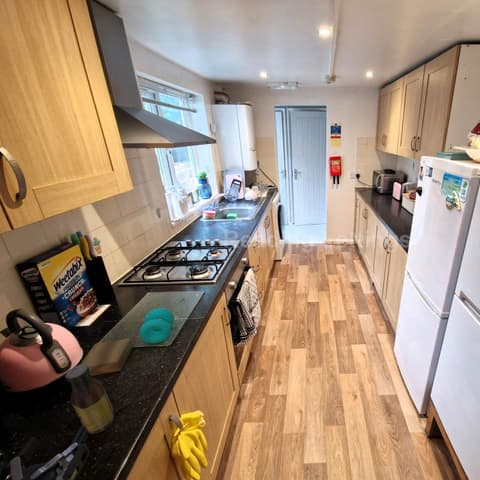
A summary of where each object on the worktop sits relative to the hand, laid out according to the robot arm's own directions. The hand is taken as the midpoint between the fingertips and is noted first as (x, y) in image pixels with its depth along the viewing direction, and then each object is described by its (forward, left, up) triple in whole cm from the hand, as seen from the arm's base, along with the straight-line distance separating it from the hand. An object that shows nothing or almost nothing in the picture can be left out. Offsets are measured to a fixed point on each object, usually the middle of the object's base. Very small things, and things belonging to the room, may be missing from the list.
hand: (60, 434), depth 56 cm
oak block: (-18, +31, -13) cm, 38 cm away
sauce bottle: (-4, +10, -13) cm, 17 cm away
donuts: (-8, +44, -13) cm, 47 cm away
